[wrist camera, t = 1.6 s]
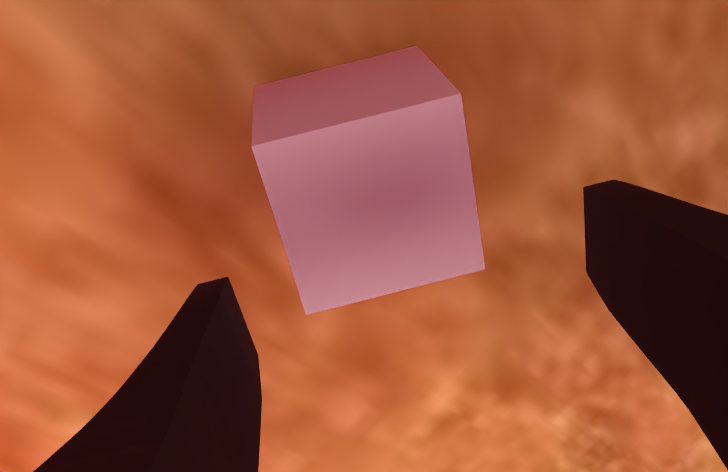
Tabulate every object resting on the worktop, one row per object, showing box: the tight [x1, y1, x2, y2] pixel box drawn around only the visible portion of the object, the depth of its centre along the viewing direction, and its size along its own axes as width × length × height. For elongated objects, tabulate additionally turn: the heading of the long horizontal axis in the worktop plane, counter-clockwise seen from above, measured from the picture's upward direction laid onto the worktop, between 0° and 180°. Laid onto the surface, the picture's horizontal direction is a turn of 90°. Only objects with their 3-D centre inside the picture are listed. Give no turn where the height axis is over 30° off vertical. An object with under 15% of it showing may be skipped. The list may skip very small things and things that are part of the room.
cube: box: [251, 46, 485, 315], centre depth 18 cm, size 5×5×5 cm
